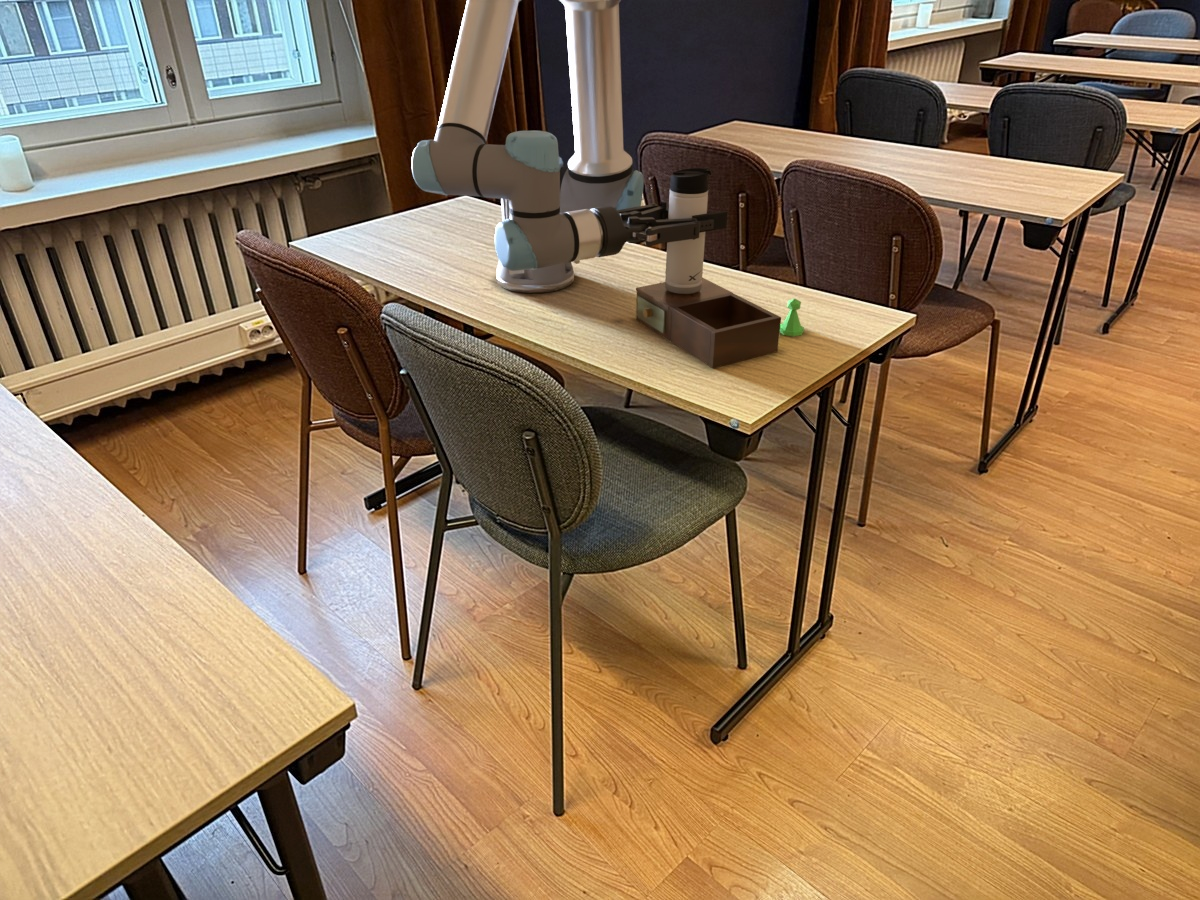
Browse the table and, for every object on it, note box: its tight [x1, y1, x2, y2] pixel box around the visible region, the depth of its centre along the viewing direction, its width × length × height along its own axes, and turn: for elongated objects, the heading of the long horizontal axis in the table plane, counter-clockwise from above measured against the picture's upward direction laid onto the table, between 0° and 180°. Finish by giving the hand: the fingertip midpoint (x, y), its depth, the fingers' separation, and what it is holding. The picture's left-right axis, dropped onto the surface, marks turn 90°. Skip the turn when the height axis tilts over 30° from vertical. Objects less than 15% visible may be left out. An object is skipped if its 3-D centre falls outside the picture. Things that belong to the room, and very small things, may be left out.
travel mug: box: [664, 167, 713, 294], centre depth 141 cm, size 6×7×20 cm
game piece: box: [779, 298, 805, 337], centre depth 145 cm, size 4×4×6 cm
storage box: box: [635, 276, 782, 369], centre depth 143 cm, size 23×14×6 cm, turn 29°
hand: (712, 214), depth 142 cm, fingers closed on travel mug, 6 cm apart
